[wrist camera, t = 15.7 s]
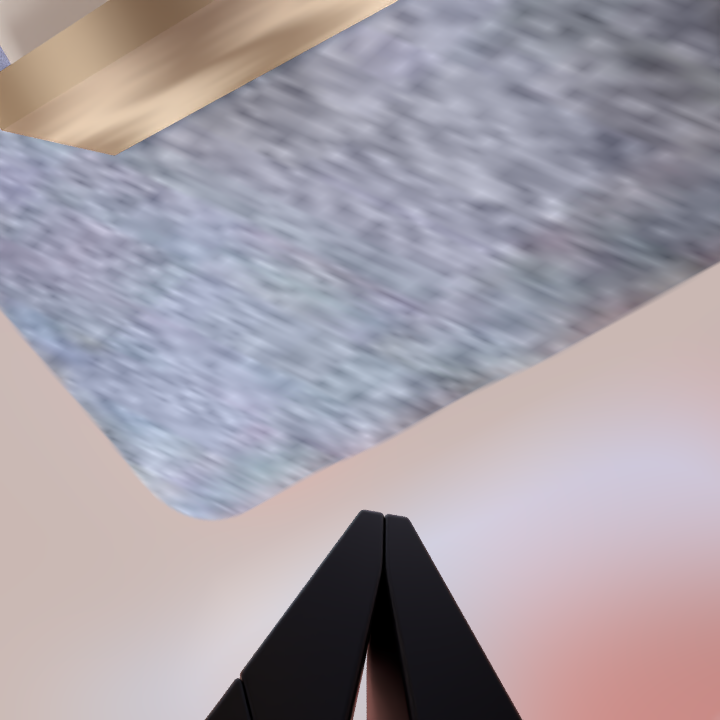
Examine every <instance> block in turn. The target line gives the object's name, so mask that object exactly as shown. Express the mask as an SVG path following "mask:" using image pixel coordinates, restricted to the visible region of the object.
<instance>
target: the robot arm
mask: <svg viewBox="0 0 720 720" xmlns="http://www.w3.org/2000/svg"><path fill="white" fill-rule="evenodd" d="M366 654H367V720H522V719H521V717H520V715H519V713H518V711H517V710H516V708H515V706H514V704H513V703H512V701H511V699H510V697H509V695H508V694H507V692H506V691H505V688H504V687H503V685H502V683H501V681H500V679H499V678H498V676H497V674H496V672H495V671H494V669H493V667H492V665H491V663H490V662H489V660H488V659H487V656H486V655H485V653H484V651H483V649H482V648H481V646H480V644H479V642H478V640H477V639H476V637H475V635H474V633H473V632H472V630H471V628H470V626H469V625H468V623H467V621H466V619H465V618H464V616H463V614H462V612H461V610H460V609H459V607H458V605H457V604H456V601H455V600H454V598H453V596H452V594H451V593H450V591H449V589H448V587H447V586H446V584H445V582H444V580H443V578H442V577H441V575H440V573H439V571H438V570H437V568H436V566H435V564H434V562H433V561H432V559H431V557H430V555H429V554H428V552H427V550H426V548H425V546H424V545H423V543H422V541H421V539H420V538H419V536H418V534H417V532H416V531H415V529H414V527H413V525H412V523H411V522H410V520H409V519H408V518H407V517H403V516H397V515H391V514H387V515H386V516H385V517H384V515H383V514H382V513H380V512H374V511H369V510H361V511H360V512H359V513H358V515H357V516H356V517H355V519H354V520H353V522H352V523H351V524H350V525H349V527H348V528H347V530H346V531H345V532H344V534H343V535H342V536H341V538H340V539H339V540H338V542H337V543H336V544H335V546H334V547H333V548H332V550H331V551H330V553H329V554H328V555H327V557H326V558H325V559H324V561H323V562H322V563H321V565H320V566H319V567H318V569H317V570H316V572H315V573H314V575H312V577H311V578H310V580H309V581H308V582H307V584H306V585H305V587H304V588H303V589H302V590H301V592H300V593H299V595H298V596H297V597H296V598H295V600H294V601H293V603H292V604H291V605H290V607H289V608H288V609H287V611H286V612H285V613H284V615H283V616H282V618H281V619H280V620H279V621H278V623H277V624H276V625H275V627H274V628H273V630H272V631H271V632H270V634H269V635H268V636H267V638H266V639H265V640H264V642H263V643H262V644H261V646H260V647H259V648H258V650H257V651H256V652H255V654H254V655H253V657H252V658H251V659H250V661H249V662H248V663H247V665H246V666H245V667H244V669H243V670H242V672H241V673H240V679H239V678H237V679H235V680H234V682H233V683H232V684H231V686H230V687H229V689H228V690H227V691H226V693H225V694H224V695H223V697H222V698H221V699H220V701H219V702H218V703H217V705H216V706H215V707H214V709H213V710H212V711H211V713H210V714H209V715H208V716H207V718H206V719H205V720H353V716H354V711H355V707H356V702H357V697H358V692H359V688H360V683H361V679H362V674H363V669H364V663H365V659H366Z"/></svg>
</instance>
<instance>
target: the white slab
mask: <svg viewBox="0 0 720 720" xmlns="http://www.w3.org/2000/svg"><path fill="white" fill-rule="evenodd" d="M107 1H109V0H0V46H1V47H2V49H3V51H4V53H5V54H6V56H7V58H8V59H9V61H10V63H11V64H13V63H14V62H16V61H17V60H19V59H20V58H22V57H23V56H25V55H26V54H28V53H29V52H31V51H32V50H34V49H35V48H37V47H39V46H40V45H42V44H43V43H45V42H46V41H48V40H49V39H51V38H52V37H54V36H55V35H57V34H58V33H60V32H61V31H63V30H65V29H66V28H68V27H69V26H71V25H72V24H74V23H75V22H77V21H78V20H80V19H81V18H83V17H84V16H86V15H87V14H89V13H91V12H92V11H94V10H95V9H97V8H98V7H100V6H101V5H103V4H104V3H106V2H107Z"/></svg>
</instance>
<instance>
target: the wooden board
mask: <svg viewBox="0 0 720 720" xmlns="http://www.w3.org/2000/svg"><path fill="white" fill-rule="evenodd" d="M396 1H398V0H109V1H107V2H106V3H104V4H103V5H101V6H100V7H98V8H97V9H95V10H94V11H92V12H91V13H89V14H87V15H86V16H84V17H83V18H81V19H80V20H78V21H77V22H75V23H74V24H72V25H71V26H69V27H68V28H66V29H65V30H63V31H61V32H60V33H58V34H57V35H55V36H54V37H52V38H51V39H49V40H48V41H46V42H45V43H43V44H42V45H40V46H39V47H37V48H35V49H34V50H32V51H31V52H29V53H28V54H26V55H25V56H23V57H22V58H20V59H19V60H17V61H16V62H14V63H13V64H11V65H9V66H8V67H6V68H5V69H3V70H2V71H0V128H1V130H2V131H7V132H11V133H16V134H20V135H25V136H29V137H34V138H38V139H43V140H47V141H51V142H56V143H60V144H65V145H69V146H74V147H78V148H83V149H87V150H92V151H96V152H101V153H105V154H110V155H114V156H115V155H117V154H119V153H120V152H122V151H124V150H126V149H128V148H129V147H131V146H133V145H135V144H137V143H139V142H140V141H142V140H144V139H146V138H148V137H150V136H151V135H153V134H155V133H157V132H159V131H161V130H162V129H164V128H166V127H168V126H170V125H171V124H173V123H175V122H177V121H179V120H181V119H182V118H184V117H186V116H188V115H190V114H192V113H193V112H195V111H197V110H199V109H201V108H203V107H204V106H206V105H208V104H210V103H212V102H214V101H215V100H217V99H219V98H221V97H223V96H224V95H226V94H228V93H230V92H232V91H234V90H235V89H237V88H239V87H241V86H243V85H245V84H246V83H248V82H250V81H252V80H254V79H256V78H257V77H259V76H261V75H263V74H265V73H266V72H268V71H270V70H272V69H274V68H276V67H277V66H279V65H281V64H283V63H285V62H287V61H288V60H290V59H292V58H294V57H296V56H298V55H299V54H301V53H303V52H305V51H307V50H308V49H310V48H312V47H314V46H316V45H318V44H319V43H321V42H323V41H325V40H327V39H329V38H330V37H332V36H334V35H336V34H338V33H340V32H341V31H343V30H345V29H347V28H349V27H351V26H352V25H354V24H356V23H358V22H360V21H361V20H363V19H365V18H367V17H369V16H371V15H372V14H374V13H376V12H378V11H380V10H382V9H383V8H385V7H387V6H389V5H391V4H393V3H394V2H396Z"/></svg>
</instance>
